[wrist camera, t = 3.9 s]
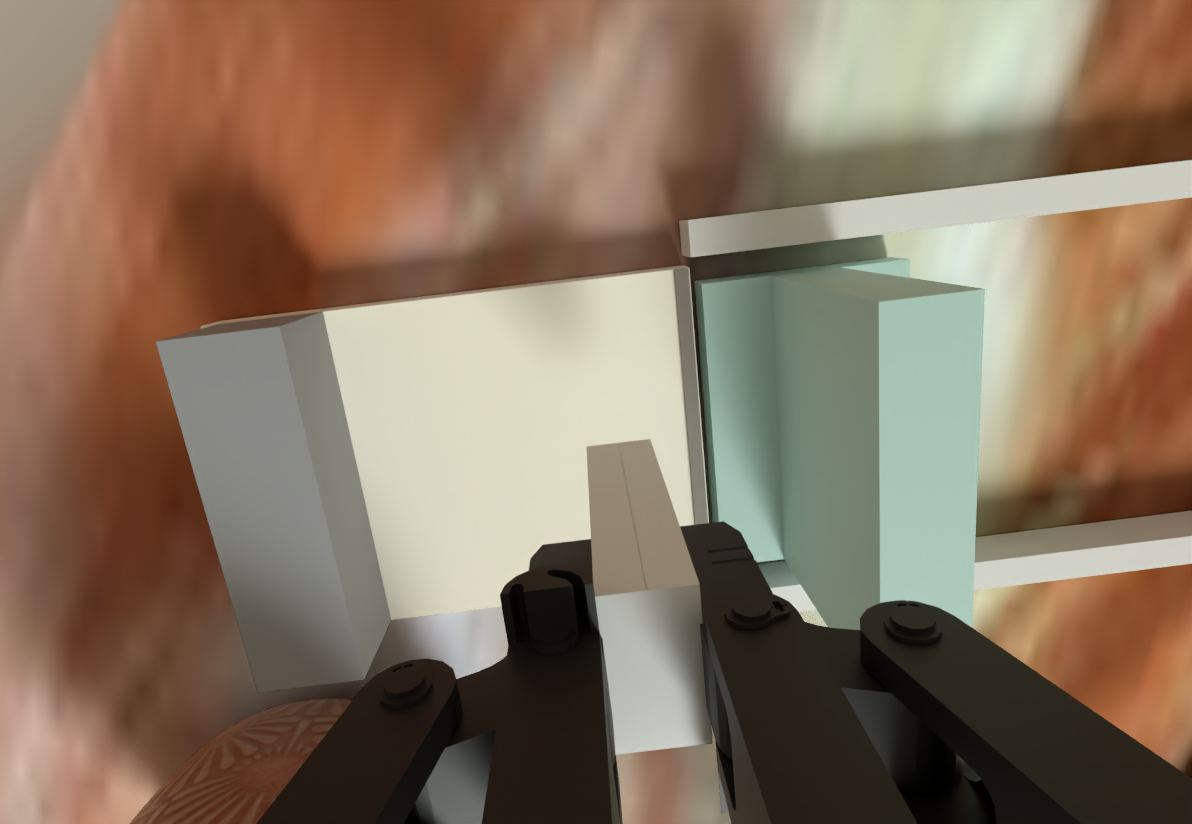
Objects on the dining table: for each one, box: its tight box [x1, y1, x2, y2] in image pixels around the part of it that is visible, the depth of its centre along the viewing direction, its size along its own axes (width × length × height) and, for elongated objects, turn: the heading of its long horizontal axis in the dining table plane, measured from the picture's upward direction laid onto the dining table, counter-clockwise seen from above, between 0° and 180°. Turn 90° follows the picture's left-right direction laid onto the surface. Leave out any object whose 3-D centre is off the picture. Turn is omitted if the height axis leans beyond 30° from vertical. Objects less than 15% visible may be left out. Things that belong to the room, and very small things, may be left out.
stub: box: [694, 257, 985, 630], centre depth 18 cm, size 6×9×8 cm, turn 7°
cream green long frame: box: [156, 159, 1192, 693], centre depth 20 cm, size 32×13×4 cm, turn 97°
